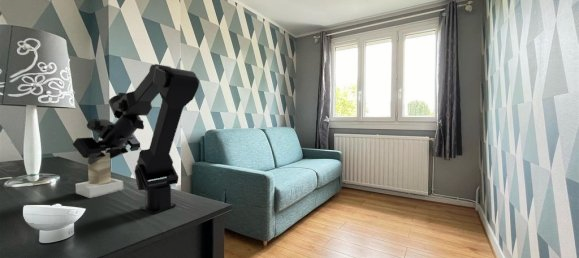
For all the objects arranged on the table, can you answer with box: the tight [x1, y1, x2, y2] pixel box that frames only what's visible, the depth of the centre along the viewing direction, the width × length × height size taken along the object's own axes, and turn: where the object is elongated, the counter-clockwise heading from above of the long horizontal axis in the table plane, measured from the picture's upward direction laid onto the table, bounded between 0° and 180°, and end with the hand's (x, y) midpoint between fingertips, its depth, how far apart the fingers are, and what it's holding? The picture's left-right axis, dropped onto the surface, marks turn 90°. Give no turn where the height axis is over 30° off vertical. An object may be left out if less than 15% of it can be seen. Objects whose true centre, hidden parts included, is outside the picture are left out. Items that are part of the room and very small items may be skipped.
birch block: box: [87, 152, 112, 184], centre depth 77 cm, size 4×4×10 cm
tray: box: [75, 177, 124, 199], centre depth 78 cm, size 9×9×3 cm
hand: (95, 162), depth 78 cm, fingers closed on birch block, 4 cm apart
